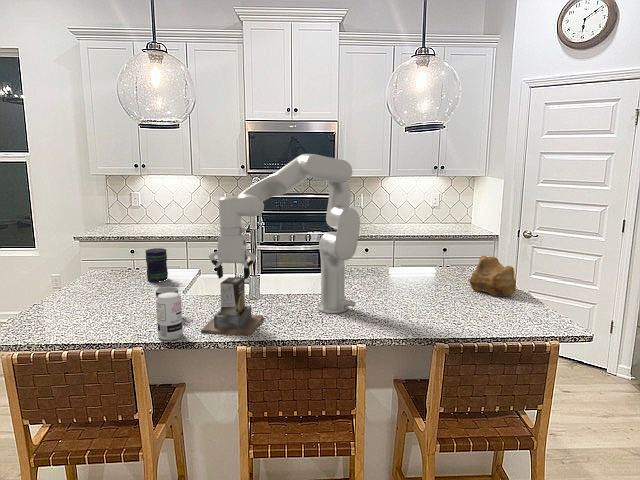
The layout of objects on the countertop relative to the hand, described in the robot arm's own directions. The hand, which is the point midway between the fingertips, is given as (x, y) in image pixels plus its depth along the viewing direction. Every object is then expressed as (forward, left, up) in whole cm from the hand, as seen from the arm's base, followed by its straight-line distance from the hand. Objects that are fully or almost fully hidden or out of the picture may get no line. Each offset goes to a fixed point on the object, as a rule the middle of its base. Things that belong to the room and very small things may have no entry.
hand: (233, 277), depth 177 cm
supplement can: (+18, +14, -18) cm, 30 cm away
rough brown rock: (-101, -59, -18) cm, 118 cm away
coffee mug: (+28, -6, -18) cm, 34 cm away
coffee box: (0, 0, -17) cm, 17 cm away
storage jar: (+56, -54, -18) cm, 80 cm away
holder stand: (0, 0, -18) cm, 18 cm away
